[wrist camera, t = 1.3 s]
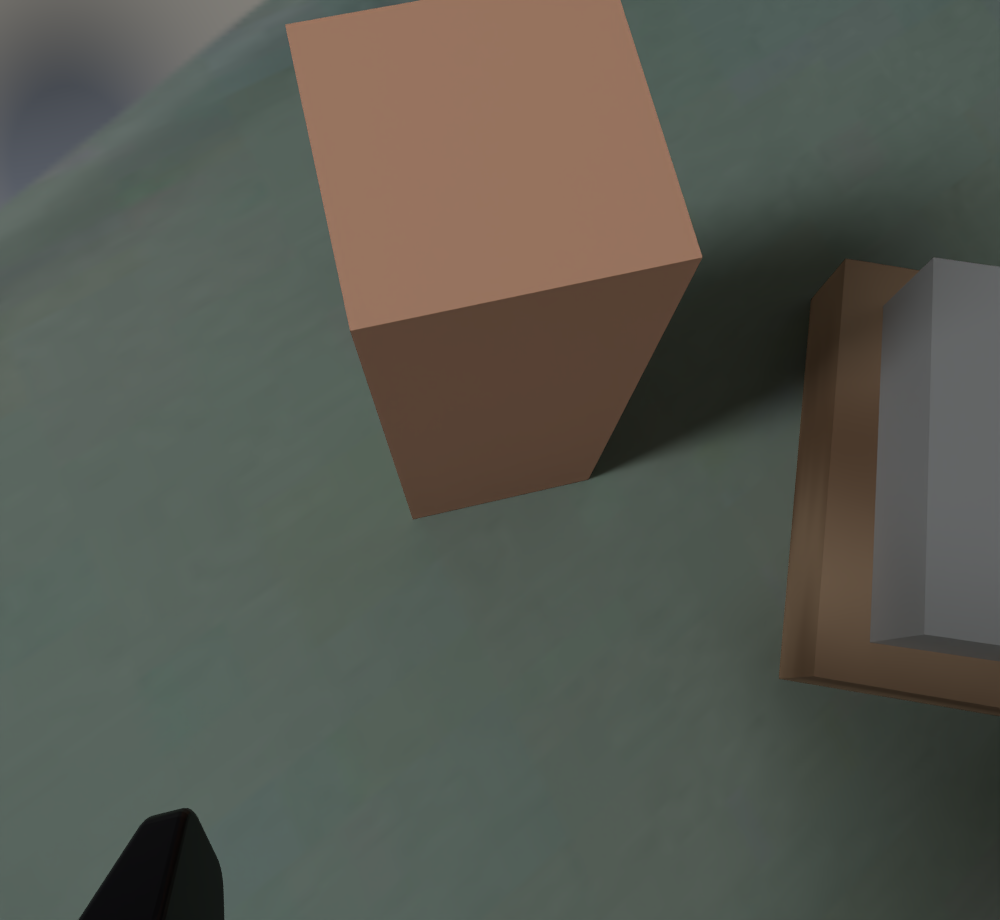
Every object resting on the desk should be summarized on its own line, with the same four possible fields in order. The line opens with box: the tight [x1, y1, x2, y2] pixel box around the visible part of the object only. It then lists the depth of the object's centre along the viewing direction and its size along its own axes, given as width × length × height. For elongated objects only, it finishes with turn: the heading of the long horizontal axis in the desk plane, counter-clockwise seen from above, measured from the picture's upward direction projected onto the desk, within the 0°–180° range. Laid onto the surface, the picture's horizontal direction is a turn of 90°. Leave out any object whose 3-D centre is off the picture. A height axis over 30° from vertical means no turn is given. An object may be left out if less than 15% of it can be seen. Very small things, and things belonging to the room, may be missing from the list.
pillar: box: [285, 0, 702, 519], centre depth 18 cm, size 4×4×12 cm
